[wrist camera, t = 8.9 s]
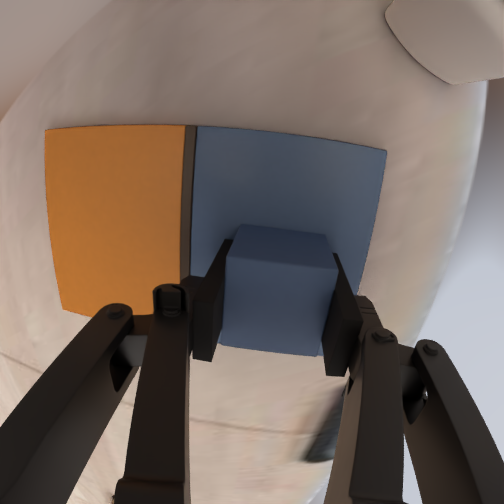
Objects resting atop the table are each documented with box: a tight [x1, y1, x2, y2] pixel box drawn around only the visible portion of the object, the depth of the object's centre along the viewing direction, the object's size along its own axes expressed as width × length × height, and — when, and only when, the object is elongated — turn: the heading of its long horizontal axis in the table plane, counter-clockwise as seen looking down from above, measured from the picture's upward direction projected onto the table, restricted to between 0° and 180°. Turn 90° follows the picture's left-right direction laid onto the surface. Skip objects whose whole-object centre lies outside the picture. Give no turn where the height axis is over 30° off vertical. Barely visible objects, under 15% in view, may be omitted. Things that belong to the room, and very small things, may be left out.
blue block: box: [221, 224, 339, 357], centre depth 15 cm, size 4×4×4 cm
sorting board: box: [45, 125, 387, 356], centre depth 18 cm, size 13×20×1 cm, turn 84°
